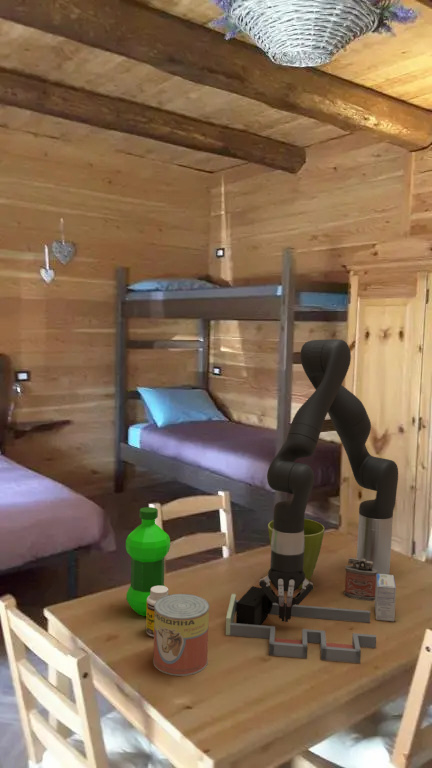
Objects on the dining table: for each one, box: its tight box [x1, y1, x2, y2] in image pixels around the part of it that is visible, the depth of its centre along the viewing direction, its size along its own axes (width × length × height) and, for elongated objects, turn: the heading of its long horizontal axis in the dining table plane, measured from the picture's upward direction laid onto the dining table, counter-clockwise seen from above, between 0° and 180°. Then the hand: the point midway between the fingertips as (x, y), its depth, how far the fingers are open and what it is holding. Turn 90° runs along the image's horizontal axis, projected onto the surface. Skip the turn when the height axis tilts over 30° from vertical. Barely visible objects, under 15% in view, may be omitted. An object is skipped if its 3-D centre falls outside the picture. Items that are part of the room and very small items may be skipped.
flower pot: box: [267, 518, 325, 590], centre depth 175 cm, size 15×15×16 cm
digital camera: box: [235, 585, 273, 625], centre depth 151 cm, size 10×5×7 cm, turn 157°
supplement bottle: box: [145, 585, 169, 638], centre depth 146 cm, size 6×6×10 cm
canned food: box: [152, 593, 210, 677], centre depth 134 cm, size 11×11×12 cm
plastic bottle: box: [125, 506, 171, 617], centre depth 156 cm, size 10×10×25 cm
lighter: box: [343, 557, 377, 602], centre depth 168 cm, size 8×3×10 cm, turn 71°
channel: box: [225, 593, 377, 664], centre depth 147 cm, size 20×33×4 cm, turn 83°
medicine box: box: [374, 574, 397, 622], centre depth 159 cm, size 8×4×9 cm, turn 168°
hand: (284, 620), depth 151 cm, fingers closed
